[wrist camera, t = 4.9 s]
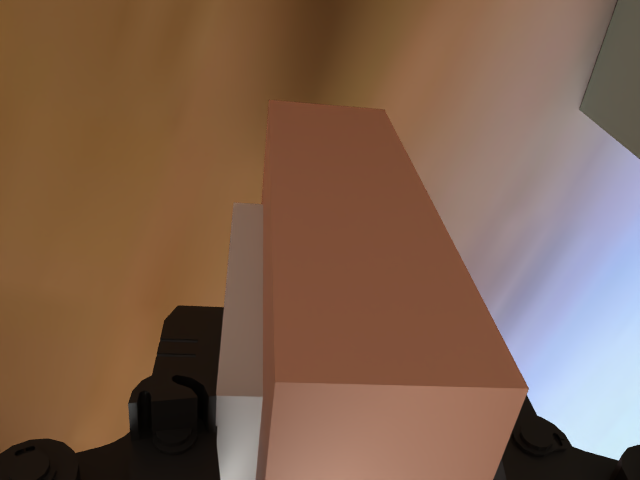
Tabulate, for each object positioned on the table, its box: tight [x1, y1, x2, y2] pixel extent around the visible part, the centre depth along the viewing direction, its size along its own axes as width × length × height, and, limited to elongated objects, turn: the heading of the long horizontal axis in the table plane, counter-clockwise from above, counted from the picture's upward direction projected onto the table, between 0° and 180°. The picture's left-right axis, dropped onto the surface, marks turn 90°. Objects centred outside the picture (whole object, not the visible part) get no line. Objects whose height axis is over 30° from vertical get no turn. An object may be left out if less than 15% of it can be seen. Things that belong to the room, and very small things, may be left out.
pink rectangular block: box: [256, 100, 529, 480], centre depth 13 cm, size 3×7×10 cm, turn 174°
